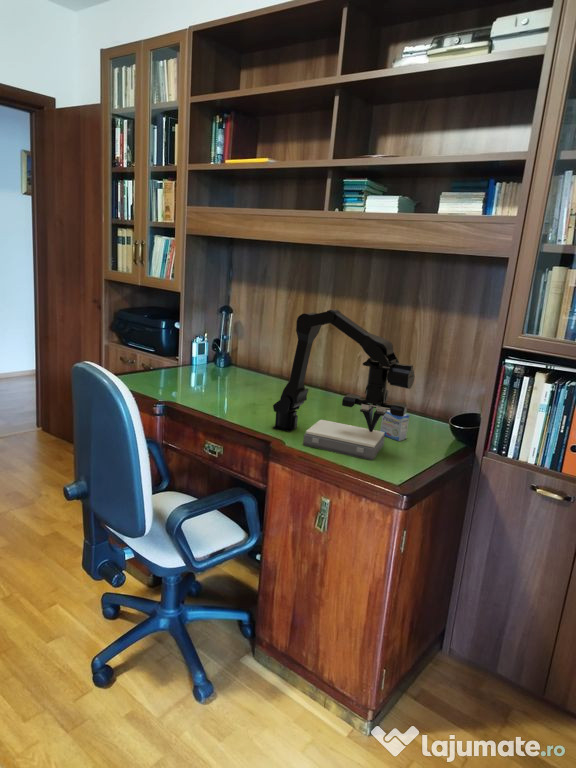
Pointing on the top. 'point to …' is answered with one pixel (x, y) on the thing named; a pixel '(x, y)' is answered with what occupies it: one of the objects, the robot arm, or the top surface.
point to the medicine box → (394, 426)
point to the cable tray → (343, 446)
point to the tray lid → (346, 433)
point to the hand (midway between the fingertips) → (371, 431)
